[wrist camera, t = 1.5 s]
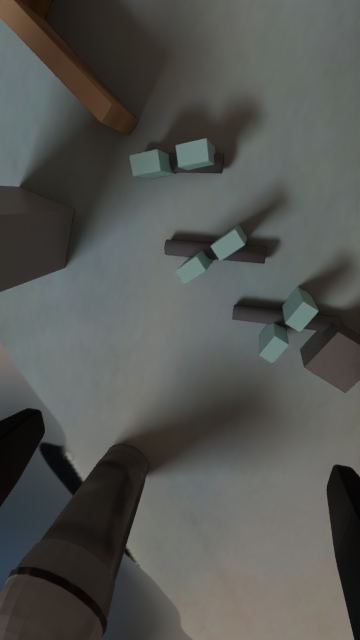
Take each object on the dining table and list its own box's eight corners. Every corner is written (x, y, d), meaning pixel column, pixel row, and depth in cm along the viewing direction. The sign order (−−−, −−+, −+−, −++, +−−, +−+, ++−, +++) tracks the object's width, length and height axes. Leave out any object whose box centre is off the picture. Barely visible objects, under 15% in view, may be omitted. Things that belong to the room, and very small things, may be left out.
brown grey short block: (368, 341, 19) (382, 359, 17) (336, 372, 21) (345, 392, 18) (329, 316, 19) (338, 332, 17) (299, 349, 21) (304, 367, 19)
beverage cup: (102, 421, 28) (-173, 811, 10) (171, 454, 28) (8, 930, 10) (87, 468, 31) (-140, 828, 14) (150, 498, 31) (-3, 918, 13)
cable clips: (194, 115, 17) (182, 100, 14) (323, 315, 19) (334, 334, 17) (128, 181, 19) (106, 178, 17) (251, 352, 22) (249, 374, 19)
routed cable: (382, 157, 16) (389, 154, 15) (335, 329, 20) (338, 335, 19) (142, 153, 18) (136, 151, 17) (143, 304, 22) (138, 309, 21)
